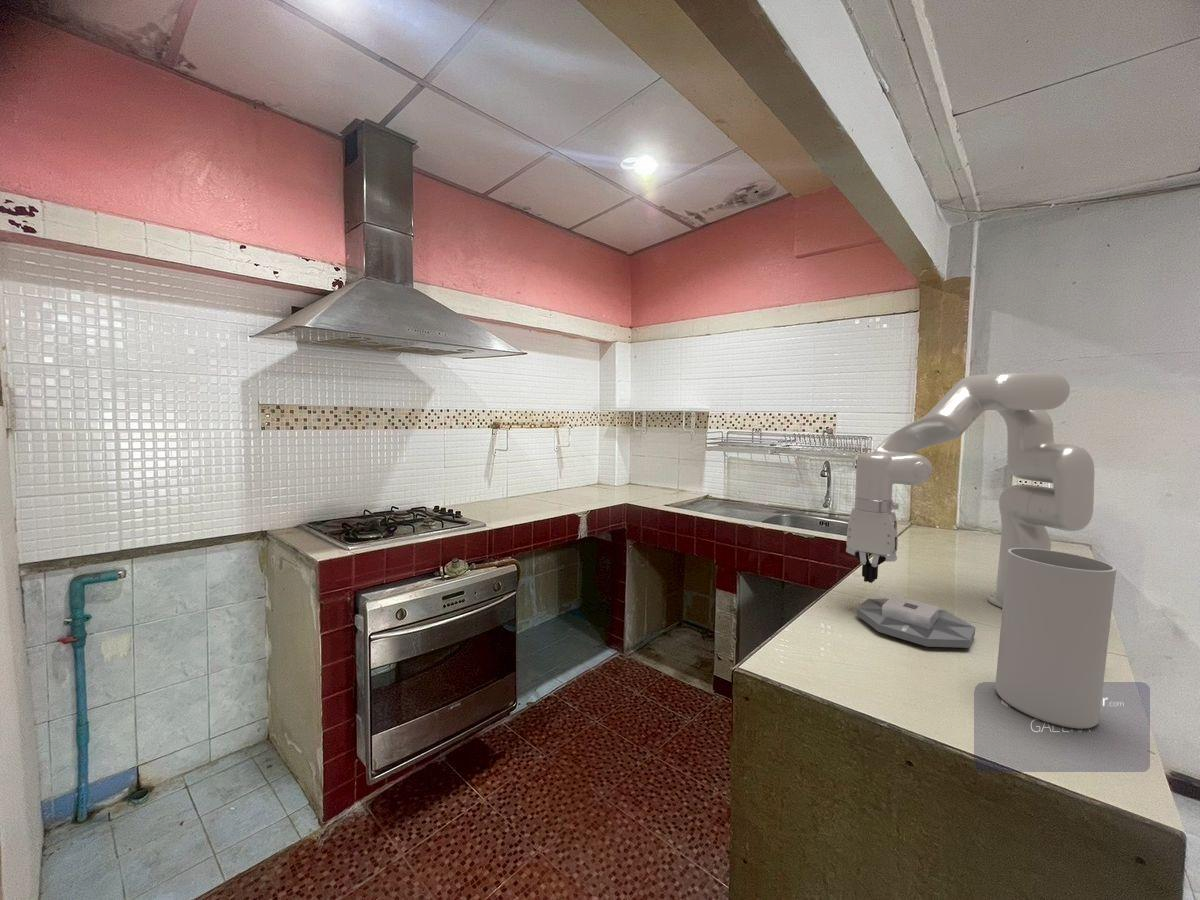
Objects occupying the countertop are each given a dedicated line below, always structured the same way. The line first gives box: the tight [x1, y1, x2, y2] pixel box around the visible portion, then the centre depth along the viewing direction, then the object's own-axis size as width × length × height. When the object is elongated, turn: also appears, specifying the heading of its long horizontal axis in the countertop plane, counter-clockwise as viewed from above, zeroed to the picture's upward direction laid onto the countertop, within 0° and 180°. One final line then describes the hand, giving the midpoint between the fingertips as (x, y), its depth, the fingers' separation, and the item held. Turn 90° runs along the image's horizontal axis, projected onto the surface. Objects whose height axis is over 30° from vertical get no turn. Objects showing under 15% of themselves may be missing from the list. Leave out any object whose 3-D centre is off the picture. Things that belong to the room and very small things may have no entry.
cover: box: [882, 595, 940, 629], centre depth 106 cm, size 9×9×3 cm
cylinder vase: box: [994, 548, 1117, 730], centre depth 77 cm, size 12×12×25 cm
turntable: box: [856, 598, 976, 649], centre depth 106 cm, size 21×21×2 cm
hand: (869, 580), depth 112 cm, fingers closed
